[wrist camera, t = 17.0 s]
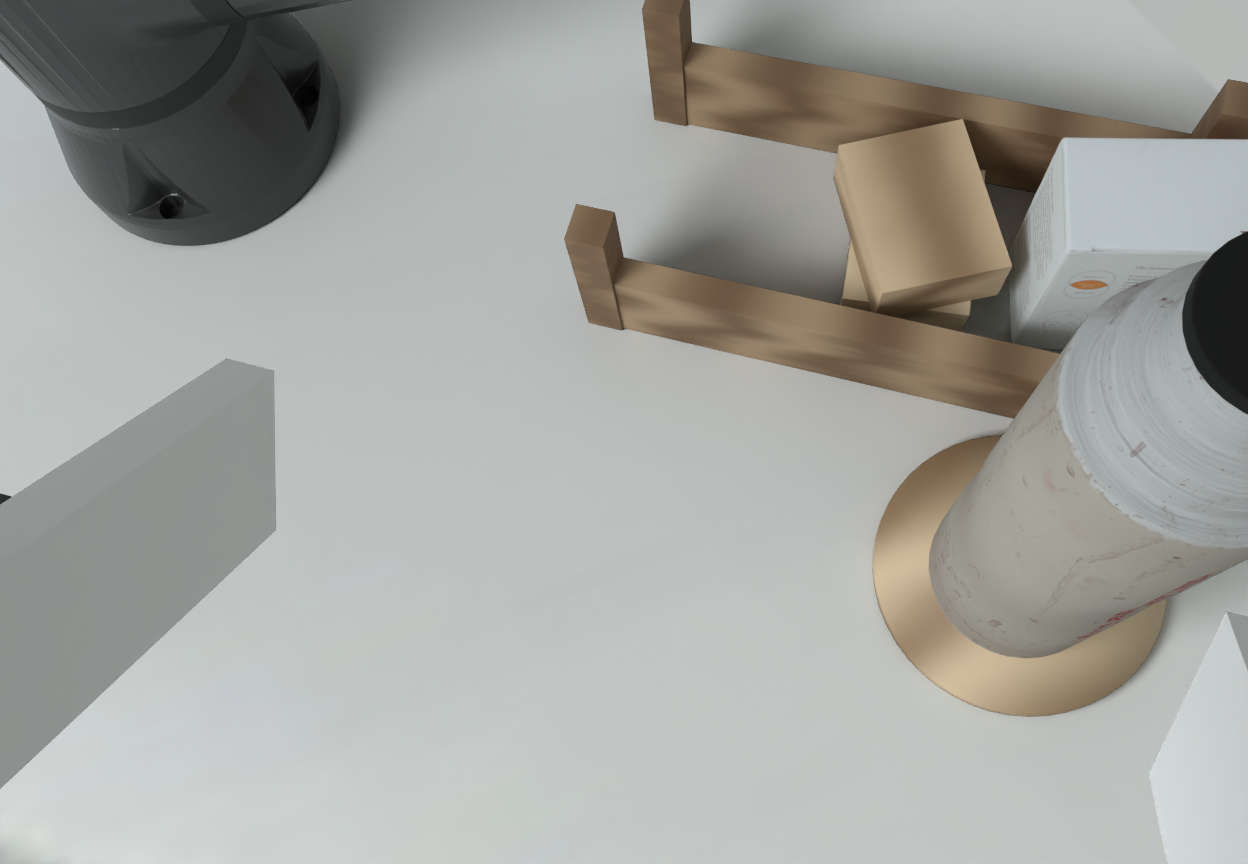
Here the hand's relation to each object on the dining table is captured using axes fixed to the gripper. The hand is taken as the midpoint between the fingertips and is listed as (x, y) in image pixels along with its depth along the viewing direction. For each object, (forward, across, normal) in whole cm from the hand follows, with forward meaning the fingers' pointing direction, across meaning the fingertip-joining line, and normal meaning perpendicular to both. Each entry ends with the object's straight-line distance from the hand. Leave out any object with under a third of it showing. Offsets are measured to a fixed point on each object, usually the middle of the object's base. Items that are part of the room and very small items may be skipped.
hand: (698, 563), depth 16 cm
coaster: (+34, +11, -19) cm, 41 cm away
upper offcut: (+43, +3, -7) cm, 43 cm away
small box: (+45, +12, -9) cm, 47 cm away
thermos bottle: (+34, +11, -19) cm, 40 cm away
